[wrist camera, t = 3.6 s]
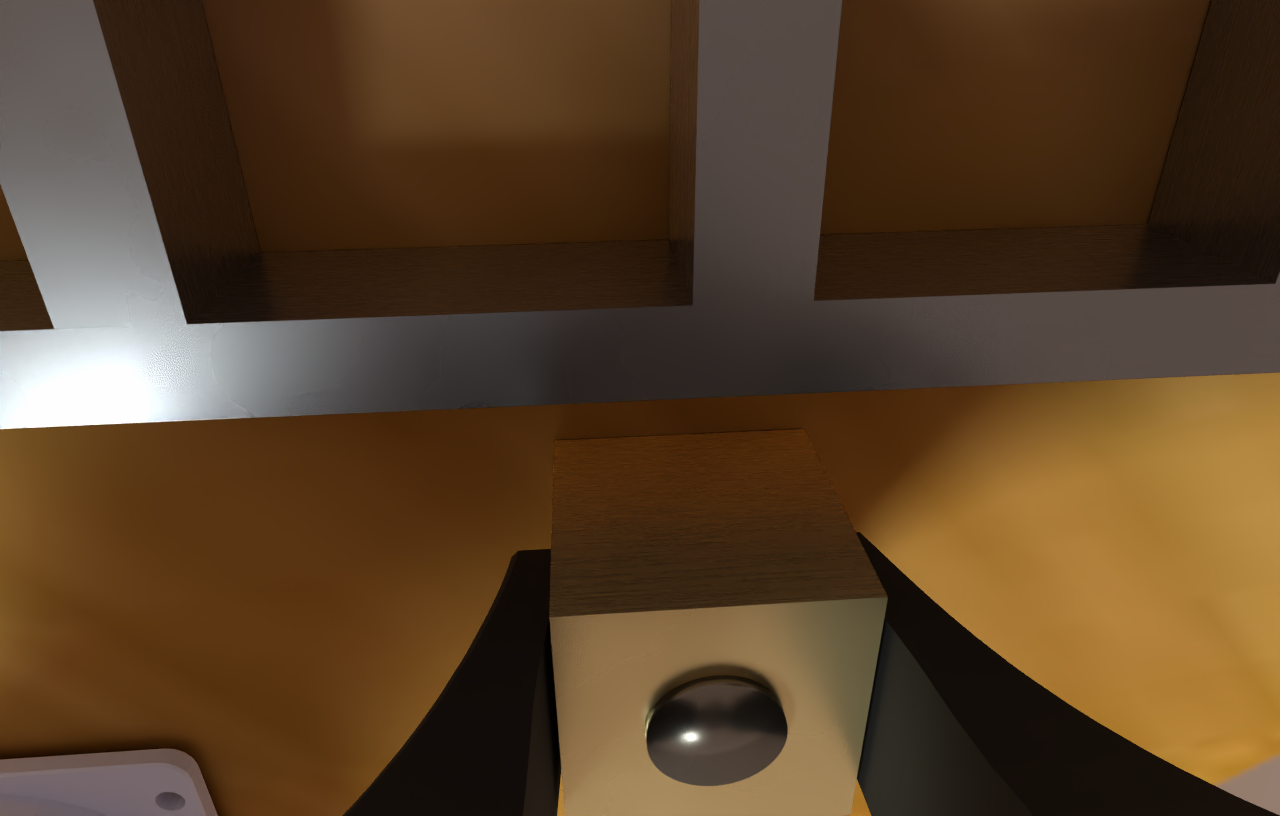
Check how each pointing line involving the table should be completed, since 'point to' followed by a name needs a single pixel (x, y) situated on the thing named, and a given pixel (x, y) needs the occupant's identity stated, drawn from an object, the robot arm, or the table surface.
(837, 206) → the table surface
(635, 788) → the drawer with knob
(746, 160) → the grey flat rectangular frame
